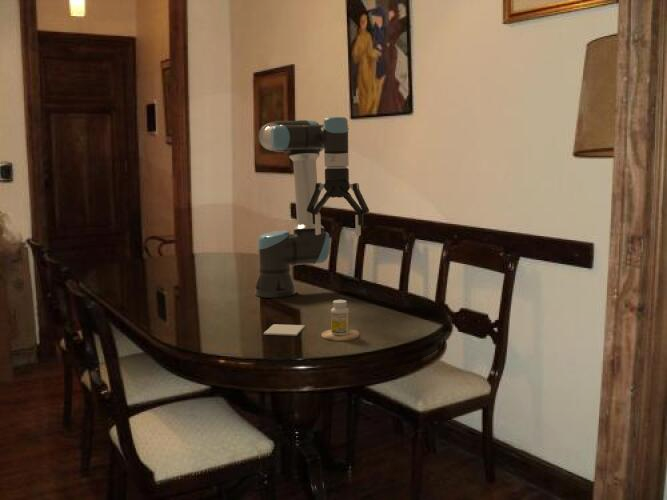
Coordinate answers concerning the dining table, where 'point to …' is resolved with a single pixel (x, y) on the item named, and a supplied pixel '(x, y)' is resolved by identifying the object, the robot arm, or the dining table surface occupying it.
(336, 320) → the supplement bottle
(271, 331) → the felt mat
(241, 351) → the dining table surface
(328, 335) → the cork coaster
